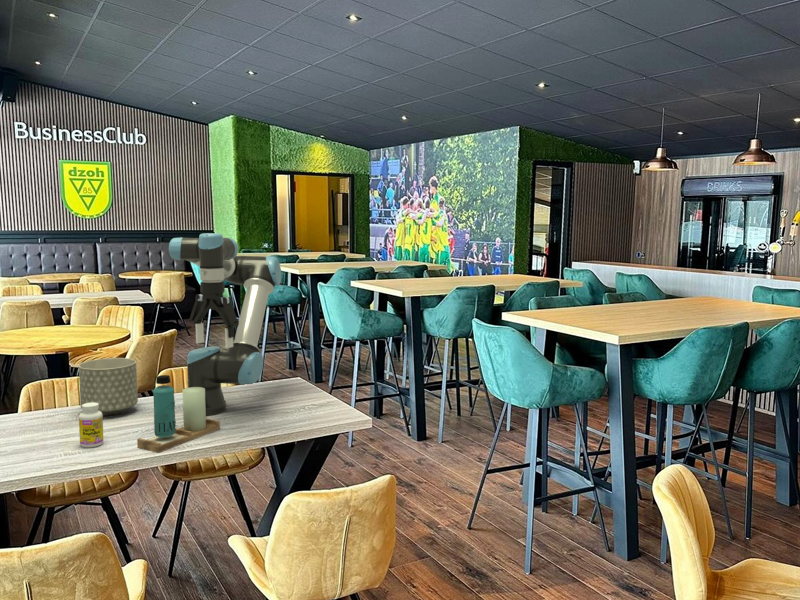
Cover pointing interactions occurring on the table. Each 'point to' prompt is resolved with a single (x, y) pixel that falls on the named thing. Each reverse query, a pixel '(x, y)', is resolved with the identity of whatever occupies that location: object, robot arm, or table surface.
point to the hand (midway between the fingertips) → (214, 345)
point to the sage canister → (194, 409)
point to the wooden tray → (176, 437)
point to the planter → (109, 384)
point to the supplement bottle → (91, 425)
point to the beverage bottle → (164, 408)
